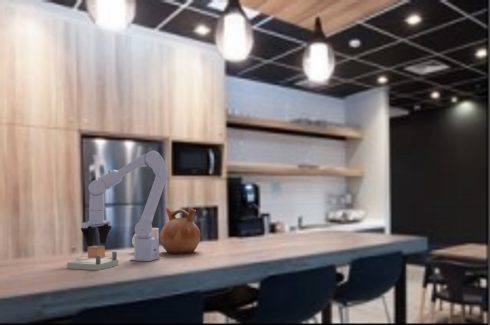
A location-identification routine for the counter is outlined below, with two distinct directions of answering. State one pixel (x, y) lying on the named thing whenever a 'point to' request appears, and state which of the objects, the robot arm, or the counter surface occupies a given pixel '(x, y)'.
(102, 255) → the orange block
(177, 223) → the jug
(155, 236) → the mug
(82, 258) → the pallet
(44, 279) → the counter surface
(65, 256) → the counter surface
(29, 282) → the counter surface
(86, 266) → the dock
